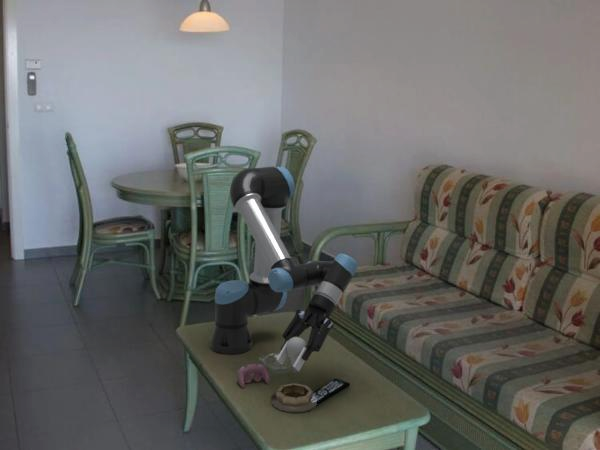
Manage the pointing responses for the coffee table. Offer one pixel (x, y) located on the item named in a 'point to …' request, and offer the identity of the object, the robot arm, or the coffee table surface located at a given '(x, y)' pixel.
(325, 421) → the coffee table surface
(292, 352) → the lightbulb
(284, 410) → the socket
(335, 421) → the coffee table surface
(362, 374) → the coffee table surface
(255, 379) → the video game controller
